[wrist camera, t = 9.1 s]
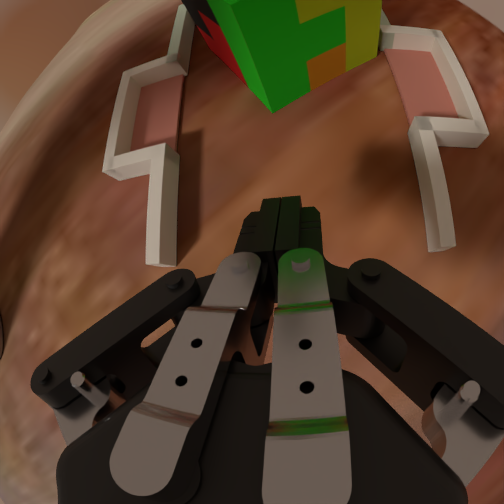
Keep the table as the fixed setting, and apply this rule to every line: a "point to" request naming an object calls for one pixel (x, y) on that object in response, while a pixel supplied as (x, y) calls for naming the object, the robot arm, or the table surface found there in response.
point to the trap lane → (409, 85)
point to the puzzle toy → (288, 41)
